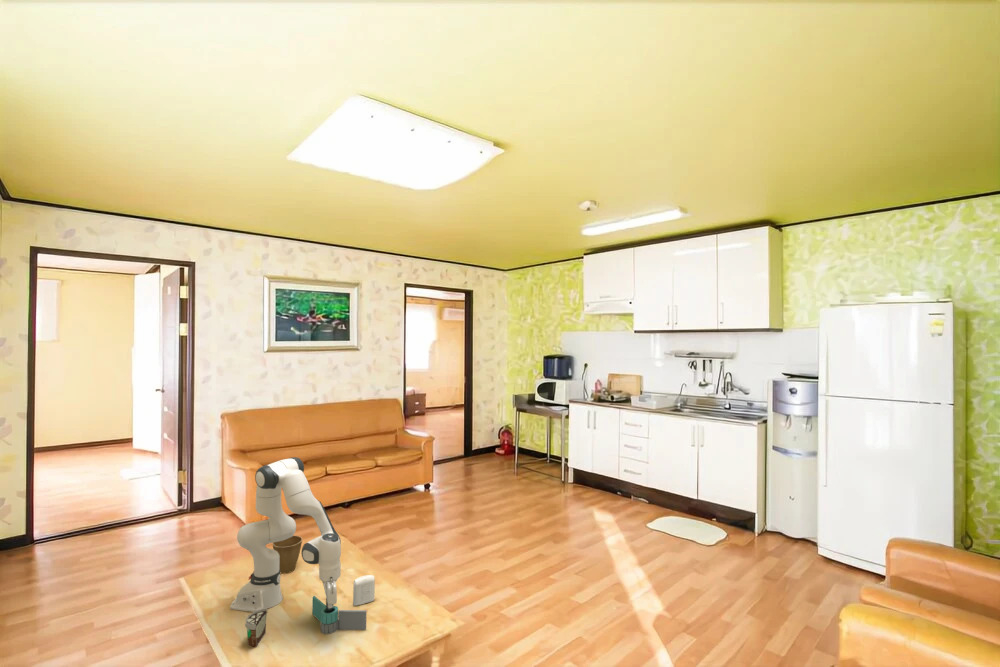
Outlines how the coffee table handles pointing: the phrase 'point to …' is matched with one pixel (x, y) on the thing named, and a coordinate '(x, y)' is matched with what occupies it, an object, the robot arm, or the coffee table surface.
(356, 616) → the frame leaf
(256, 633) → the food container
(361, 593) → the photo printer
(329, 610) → the hinge pin
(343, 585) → the coffee table surface
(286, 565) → the plant pot
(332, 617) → the teal hinge knuckle plate
